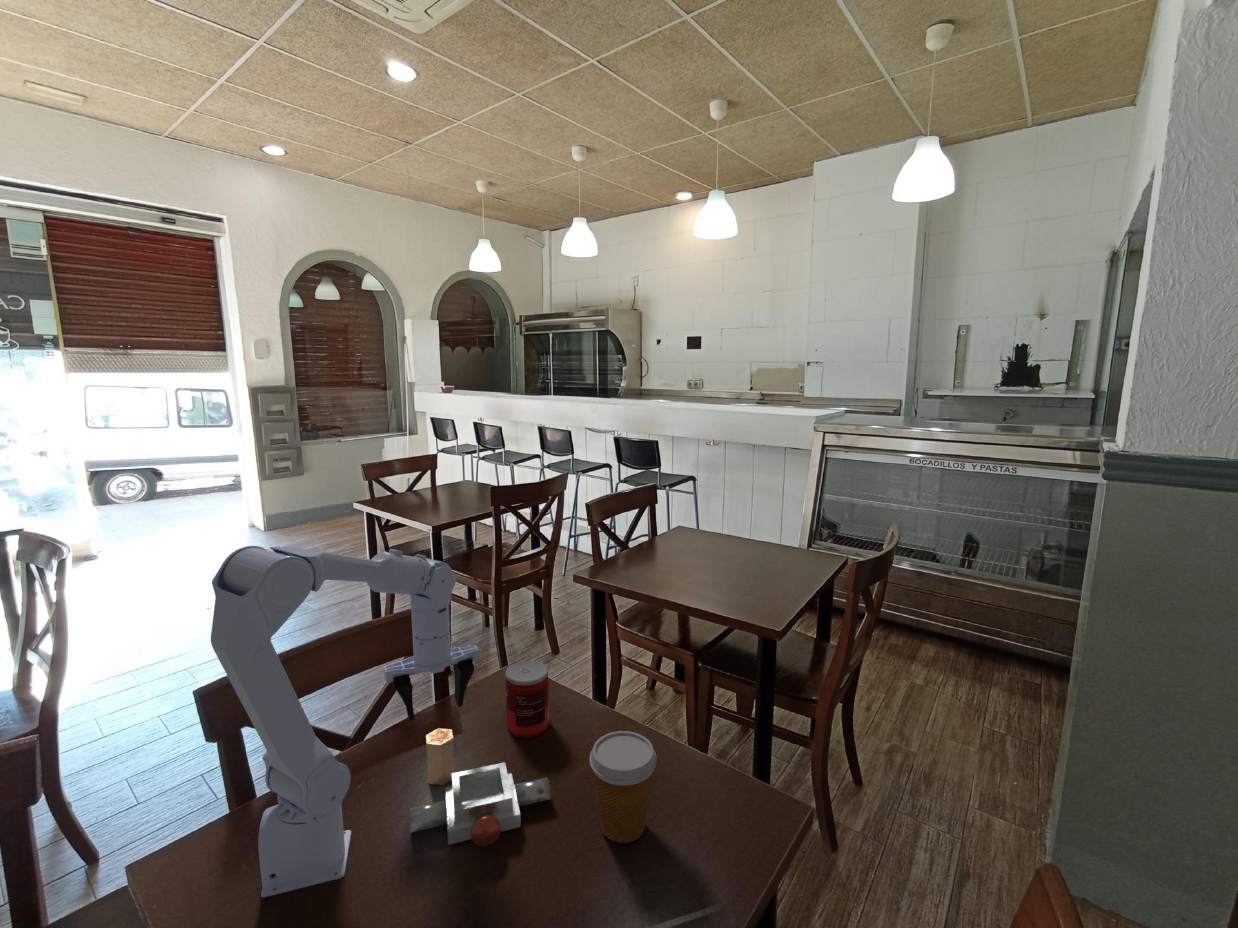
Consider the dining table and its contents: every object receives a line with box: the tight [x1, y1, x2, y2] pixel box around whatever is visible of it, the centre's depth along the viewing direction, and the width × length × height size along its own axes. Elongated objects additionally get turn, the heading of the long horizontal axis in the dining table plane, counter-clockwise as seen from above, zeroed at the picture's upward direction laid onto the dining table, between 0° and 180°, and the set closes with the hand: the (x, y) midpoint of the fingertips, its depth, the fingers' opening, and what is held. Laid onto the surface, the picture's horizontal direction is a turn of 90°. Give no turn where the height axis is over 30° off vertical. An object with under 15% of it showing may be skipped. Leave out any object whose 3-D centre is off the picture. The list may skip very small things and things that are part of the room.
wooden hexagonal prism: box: [425, 727, 456, 786], centre depth 91 cm, size 4×5×7 cm
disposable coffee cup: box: [588, 730, 658, 844], centre depth 80 cm, size 10×10×12 cm
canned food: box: [505, 660, 550, 739], centre depth 104 cm, size 8×8×11 cm
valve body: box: [408, 762, 552, 847], centre depth 82 cm, size 20×11×4 cm, turn 109°
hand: (435, 710), depth 92 cm, fingers open, 7 cm apart
